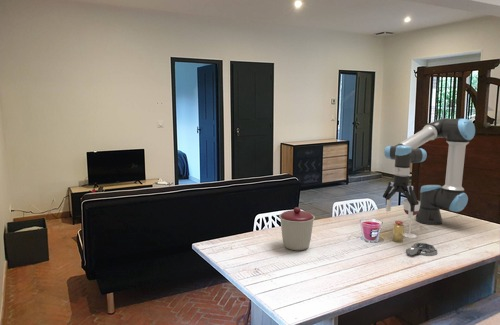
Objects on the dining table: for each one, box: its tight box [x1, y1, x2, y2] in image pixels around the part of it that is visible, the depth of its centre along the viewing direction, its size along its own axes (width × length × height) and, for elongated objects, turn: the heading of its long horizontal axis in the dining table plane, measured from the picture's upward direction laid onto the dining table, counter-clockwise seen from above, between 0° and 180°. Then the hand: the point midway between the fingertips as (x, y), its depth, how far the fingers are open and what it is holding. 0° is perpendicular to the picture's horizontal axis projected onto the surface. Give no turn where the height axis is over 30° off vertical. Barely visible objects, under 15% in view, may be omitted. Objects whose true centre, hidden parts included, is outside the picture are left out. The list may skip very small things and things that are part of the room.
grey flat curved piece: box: [405, 242, 438, 257], centre depth 183 cm, size 18×12×4 cm, turn 121°
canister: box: [278, 206, 316, 251], centre depth 189 cm, size 18×18×21 cm
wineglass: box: [402, 198, 420, 239], centre depth 205 cm, size 8×9×20 cm
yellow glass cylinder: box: [392, 220, 405, 244], centre depth 198 cm, size 5×5×11 cm
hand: (399, 214), depth 196 cm, fingers open, 13 cm apart
